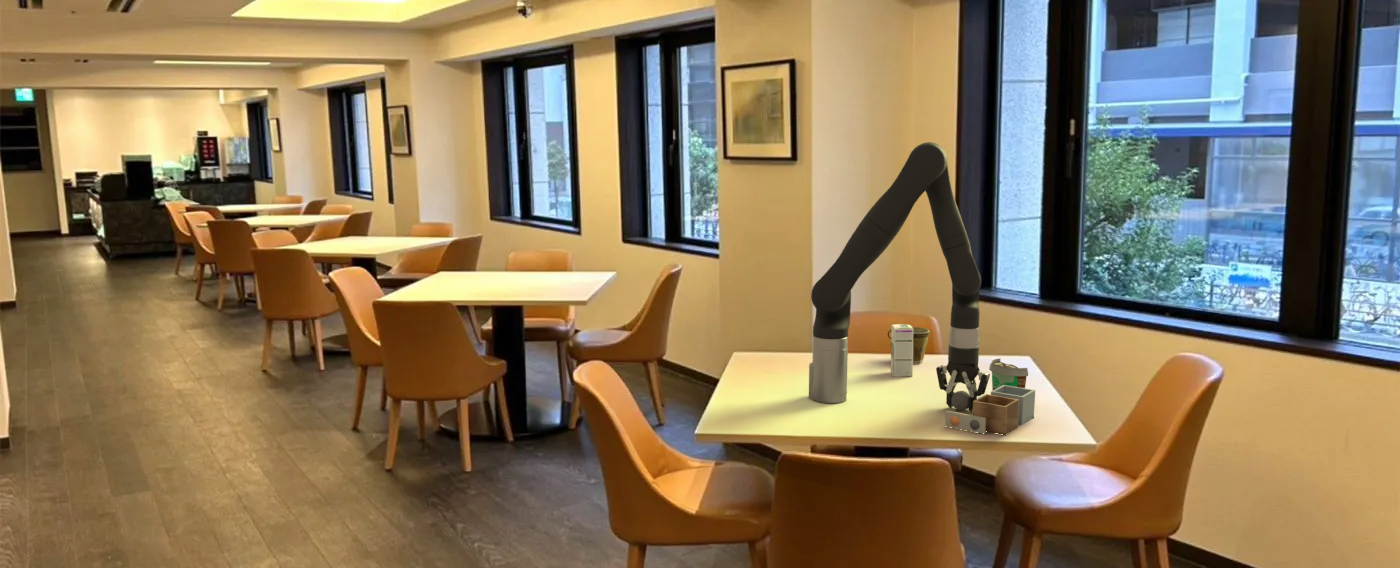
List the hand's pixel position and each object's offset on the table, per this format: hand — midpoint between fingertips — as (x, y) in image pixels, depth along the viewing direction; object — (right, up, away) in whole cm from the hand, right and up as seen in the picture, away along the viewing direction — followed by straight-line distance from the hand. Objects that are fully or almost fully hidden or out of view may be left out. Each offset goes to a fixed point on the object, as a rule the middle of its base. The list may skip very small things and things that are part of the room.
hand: (961, 408), depth 261 cm
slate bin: (+11, -2, -7) cm, 13 cm away
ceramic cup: (-3, +8, +53) cm, 53 cm away
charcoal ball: (0, 0, 0) cm, 0 cm away
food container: (+13, +1, +9) cm, 16 cm away
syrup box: (-8, +5, +36) cm, 38 cm away
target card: (-4, -3, -17) cm, 18 cm away
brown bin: (+4, -3, -16) cm, 16 cm away
